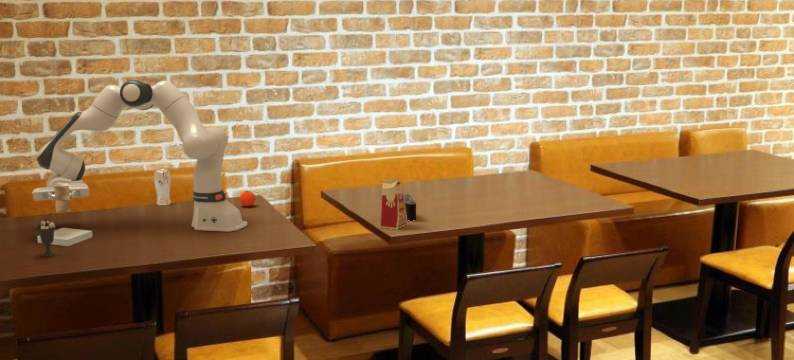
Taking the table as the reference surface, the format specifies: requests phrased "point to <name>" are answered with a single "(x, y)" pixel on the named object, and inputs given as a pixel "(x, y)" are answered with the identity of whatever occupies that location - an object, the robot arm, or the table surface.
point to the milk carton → (393, 205)
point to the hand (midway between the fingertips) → (62, 196)
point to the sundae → (47, 234)
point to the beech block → (62, 197)
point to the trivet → (69, 236)
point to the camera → (410, 207)
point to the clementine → (247, 198)
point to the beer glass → (162, 186)
